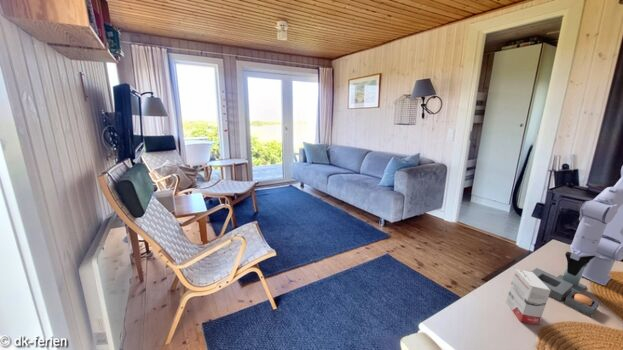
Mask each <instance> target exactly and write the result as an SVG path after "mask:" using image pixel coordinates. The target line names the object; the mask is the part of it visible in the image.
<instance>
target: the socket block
mask: <svg viewBox="0 0 623 350" xmlns="http://www.w3.org/2000/svg"><path fill="white" fill-rule="evenodd" d="M530 272H533V273H534V274H535V275H536V276H537V277H538V278H539V279H540V280H541V281H542V282H543V283H544V284H545V285H546V286H547V287H548V288H549V289H550V290H551V291H550V294H549V297H551V298H553V299H555V300H557V301H559V302H561V301H562V300H563V299H564V298H565V297H567V296H568V295H569V294H570V293H571V292H572V290H571V289H572V287H573V284H571V283H569V282H567V281H565V280H562V279H560V278H558V276H555V275H554V274H551V273H549V272H547V271H544V270H542V269H540V268H538V267H536V268H534V269H533V270H531V271H530Z"/></svg>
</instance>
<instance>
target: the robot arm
mask: <svg viewBox="0 0 623 350" xmlns="http://www.w3.org/2000/svg"><path fill="white" fill-rule="evenodd" d="M578 221H579V224H578V226H577V229H576V231H575V234H574V237H573V240H572V242H571V244H569V245H570V246H569V249H570V251H571V252H570V251H566V252H565V258H566V261H567V265H566V267H567V273H569V274H572V275H574V276H576V275H577V274H578V273H579V271H580V270H581V268H582V267H583V266H584V265H585V264H587V266H586V267H585V269H584V271H583V274H582V276H581V278H585V279H587V280H589V281H592V282H594V283H596V284H599V285H601V286H603V285H604V286H606V285H607V283H608V282H609V281H610V280H611V279H612V276H610V273H611V271H612V269H613V266H614V264H615V262H621V261H622V260H623V165H622V166H621V169H620V178H619V179H618V180H617V181H616V183H615V184H614V185H613V186H608V187H606V188H604V189H603V190H602V191H601V192H600V193H599V194H598V195H596V196H595V197H594V198H593V199H591V200H585V201H584V203H582V205H581V207H580V210H579V218H578ZM604 286H603V287H604Z"/></svg>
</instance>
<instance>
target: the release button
mask: <svg viewBox="0 0 623 350" xmlns="http://www.w3.org/2000/svg"><path fill="white" fill-rule="evenodd" d="M574 299H575V300H577V301H579V302H581V303H583V304H585V305H587V306H589V307H591V304H592V302H593V301H592V300H591V299H592V298H591V299H590V297H589V298H588V296H587V295H584V294H583V293H580V294H575V296H574Z"/></svg>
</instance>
